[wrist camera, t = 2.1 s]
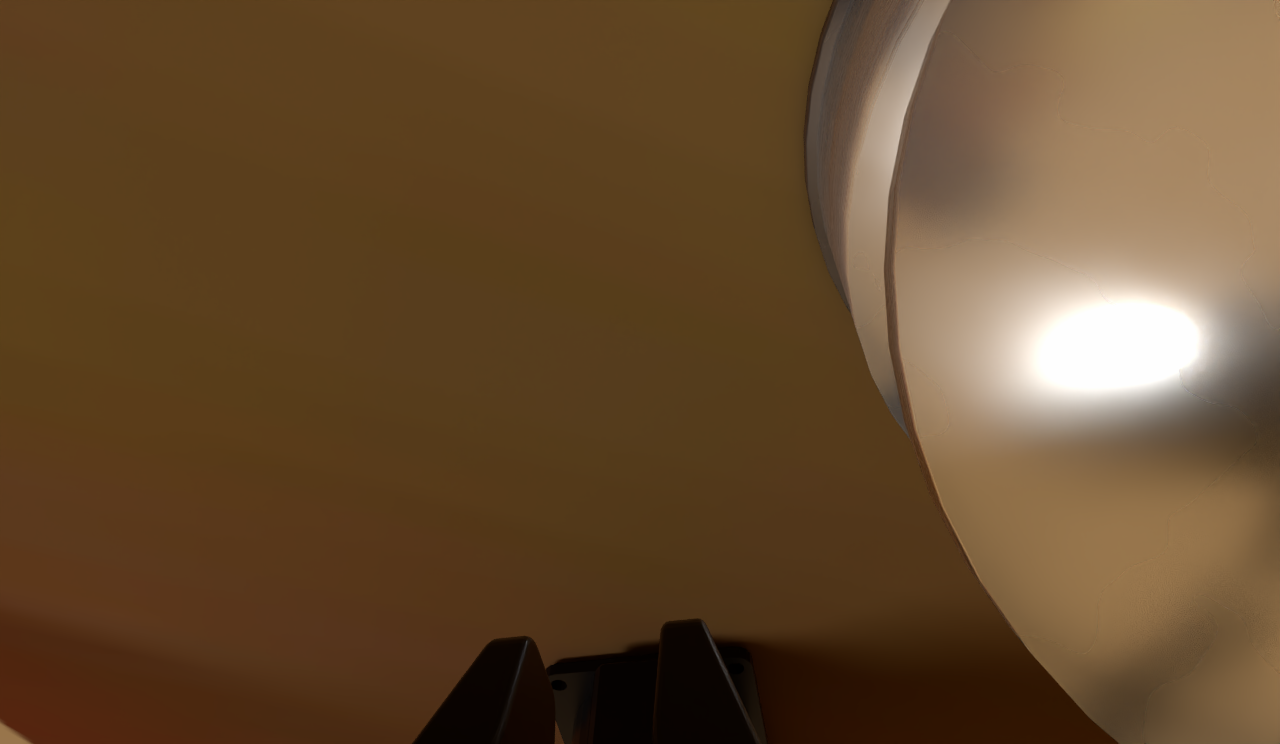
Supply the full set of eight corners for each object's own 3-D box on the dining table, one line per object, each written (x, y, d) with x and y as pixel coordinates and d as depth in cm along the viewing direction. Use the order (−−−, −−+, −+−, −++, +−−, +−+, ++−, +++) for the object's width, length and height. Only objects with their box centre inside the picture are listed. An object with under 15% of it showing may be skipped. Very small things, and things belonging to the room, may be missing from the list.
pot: (1489, 376, 22) (1684, 517, 17) (833, 457, 24) (865, 601, 19) (1791, -480, 14) (2288, -605, 9) (762, -241, 16) (789, -256, 11)
